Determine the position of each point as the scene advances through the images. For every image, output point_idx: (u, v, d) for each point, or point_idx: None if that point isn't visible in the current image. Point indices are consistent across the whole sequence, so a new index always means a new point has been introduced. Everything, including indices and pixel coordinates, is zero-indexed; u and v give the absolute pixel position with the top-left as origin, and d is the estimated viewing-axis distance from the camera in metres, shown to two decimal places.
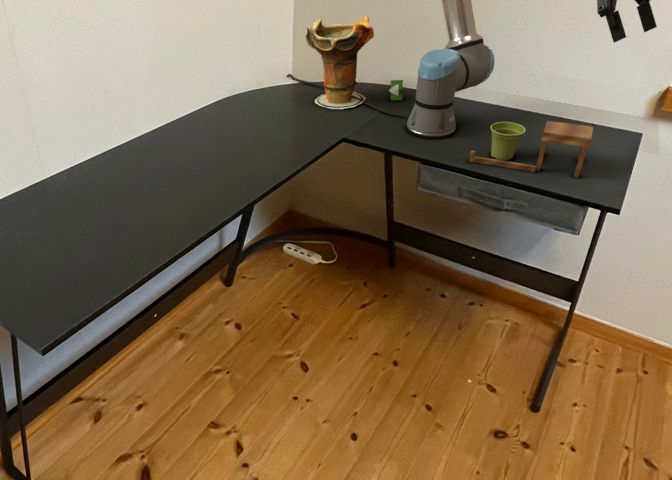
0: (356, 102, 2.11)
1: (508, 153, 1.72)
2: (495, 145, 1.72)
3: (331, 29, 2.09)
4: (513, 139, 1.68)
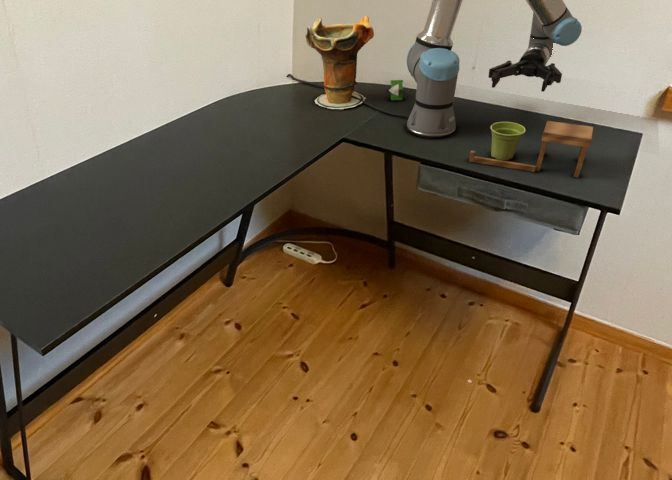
0: (356, 102, 2.11)
1: (508, 153, 1.72)
2: (495, 145, 1.72)
3: (331, 29, 2.09)
4: (513, 139, 1.68)
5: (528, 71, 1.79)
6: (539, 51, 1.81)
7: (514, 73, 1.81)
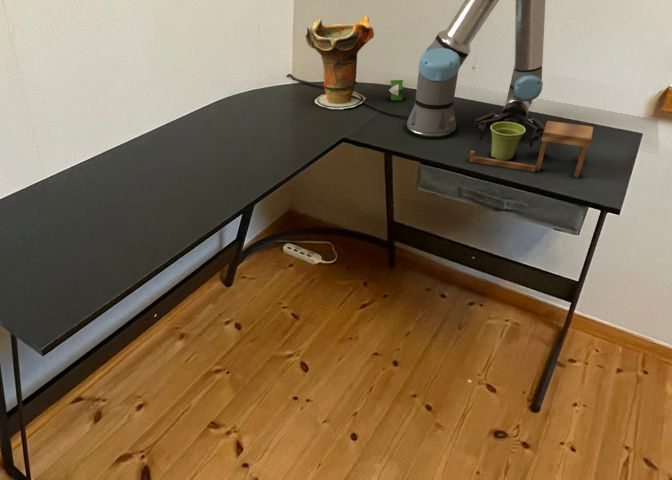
0: (356, 102, 2.11)
1: (508, 153, 1.72)
2: (495, 145, 1.72)
3: (331, 29, 2.09)
4: (513, 139, 1.68)
5: None
6: (521, 104, 1.82)
7: None
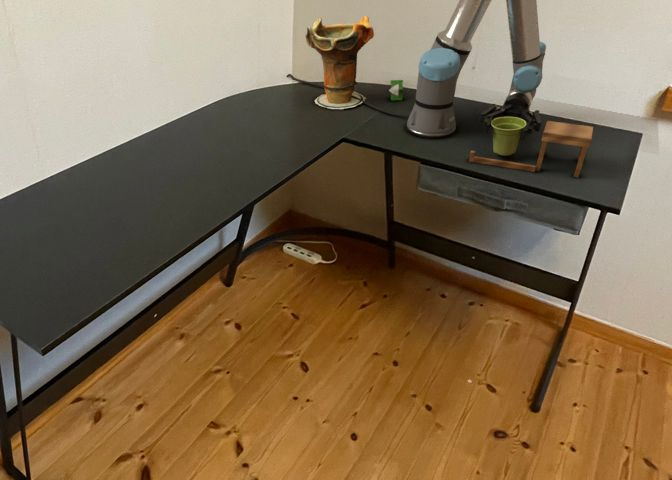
0: (356, 102, 2.11)
1: (510, 148, 1.70)
2: (496, 141, 1.71)
3: (331, 29, 2.09)
4: (513, 133, 1.67)
5: (513, 116, 1.76)
6: (524, 96, 1.79)
7: None
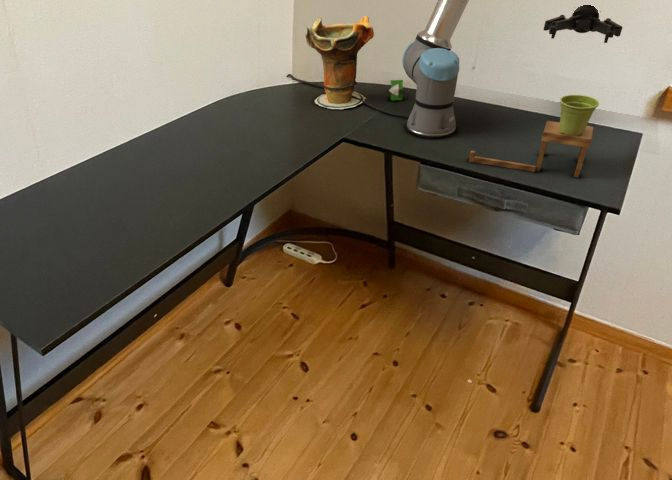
0: (356, 102, 2.11)
1: (579, 128, 1.59)
2: (565, 120, 1.60)
3: (331, 29, 2.09)
4: (585, 112, 1.56)
5: (584, 25, 1.75)
6: (593, 6, 1.77)
7: (569, 27, 1.76)
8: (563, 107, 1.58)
